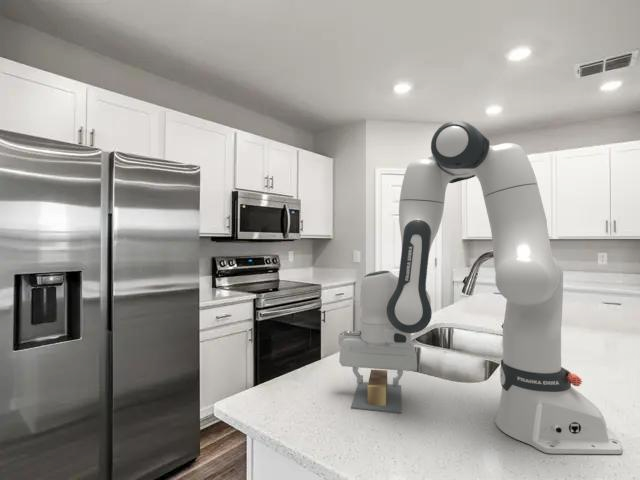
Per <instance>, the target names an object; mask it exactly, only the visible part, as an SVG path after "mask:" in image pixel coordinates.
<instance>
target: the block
mask: <svg viewBox="0 0 640 480" xmlns="http://www.w3.org/2000/svg"><path fill="white" fill-rule="evenodd" d="M387 384H388V370H387V369H373V368H370V374H369V378H368V386H367V389H368V404H369V405H379V406H386V398H387Z"/></svg>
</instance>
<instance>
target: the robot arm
mask: <svg viewBox="0 0 640 480" xmlns="http://www.w3.org/2000/svg"><path fill="white" fill-rule="evenodd" d="M430 151H431V156H430V157H423V158H419V159H415V160H413V161H411V162H410V163H409V164H408V165H407V167H406V168H405V169H406V170H405V173H404V175H403V180H402V184H401V189H400V196H399V201H398V202H399V203H398V224H399V232H400V239H401V255H400V263H399V270H398V271H399V272H398V276H397V275H395V274H393V273H392V271H389V270H379V271H373V272H370V273H367V274H366V275H365V276H363V277H362V279H361V285H360V295H359V296H360V298H359V299H360V303H359V305H360V309H361V316H360V330H359V331H358V330H354V331H353V330H352V331H351V330H343V332H341V333H339V335H338V345H339V347H340V349H339V361H338V362H339V364H340V365H341V367H348V368H352V372H353V374H354V376H355V378H356V384H357V385H358V384H363V382H364V379H363V378H364V375H363V374H362V375H361V374H360V372H359V369H360V368H364V369H373V370H387V371H388V370H391V371H392V370H393V371H397V372H396V373H397V376H396V377H392V384H393V386H395V387H399V385H400V384H399V383H400V382H399V381H400V380H401V378H402V377H403V375H404V372H415V371H416V370H417V368H418V363H417V362H418V361H417V354H416V349H415V344H414V342H413V341H412V334H417V333H419V332H422V331H423V330H425V329H426V328H428V326H429V324H430V322H431V319H432V314H433V313H432V307H431V305H432V304H431V303H432V301H431V297H430V294H429V292H428V291H427V276H428V268H429V267H428V265H429V257H430V251H431V248H432V245H433V242H434V241H435V238H436V237H437V234H438V231H439V229H440V226H441V223H442V219H443V214H444V208H445V199H446V192H447V187H448V184H455V183H457V182H461V181H465V180H469V179H472V178H475V177H476V178H477V179H478V181H479V183H480V187H481V190H482V195H483V201H484V204H485V209H486V214H487V218H488V221H489V226H490V231H491V242H492V243H491V244H492V254H493V257H492V258H493V264H494V270H495V281H494V282H495V286H496V288H497V290H498V292H499V293H500V295H501V296H502V297H503V298H504V299H506V304H505V305H506V306H505V312H504V318H503V324H502V359H501V360H500V369H499V372H500V373H499V375H500V377H499V378H500V384H501V395H500V399H499V407H498V410H497V413H496V415H495V420H494V422H495V425H496V426H497V428H498V429H499V430H500V431H502V432H503V433H505V434H506V435H508V436H509V437H511V438H513V439H515V440H518V441H521V442H523V443H525V444H527V445H530V446H532V447H534V448H535V449H536V450H539V451H541V452H543V453H546V454H559V455H560V454H561V455H563V454H566V455H567V454H569V455H570V454H571V455H572V454H575V455H622V453H623V445H622V442H621V441H620V439H619V438H618V437H617V436H616V434H615V433H613V431H612V430H610V429H609V427H608V428H607V424H606V420H605V417H604V414H603V413H602V412H601V410H600V408H599V407H598V406H596V405H595V404H594V403H593V402H592V401H591V400H590V399H588V398H587V397H586V396H584V395H583V394H582V393H580V392H579V391H578V390H577V389H576V388H574V387H580V386H581V385H583V384H582V382H583V381H582V378H580V377H579V376H578V375H577V374H575V373H572V372H570V371H569V370H567V369H566V368H564V367H562V321H563V320H562V318H563V302H564V301H563V297H564V270H563V268H562V267H563V266H562V265H561V263H560V262H559V261H558V260H557V259H556V257H554V256H553V252H552V246H551V241H550V235H549V229H548V221H547V217H546V213H545V208H544V205H543V199H542V196H541V193H540V189H539V185H538V181H537V178H536V174H535V172H534V169H533V166H532V163H531V162H530V159H529V157H528V155H527V153H526V151H525V150H524V148H523V147H522V146H521V145H519V144H517V143H512V142H503V143H499V144H496V145H490V140H489V139H488V138H487V137H486V136H485V135H484V134H482V132H481V131H479V130H478V129H477V128H476V127H475V126H474V125H472V124H470V123H468V122H467V121H466V122H465V121H463V120H452V121H449V122H446V123H444V124H442V125H441V126H440V127H439V128H438V129H437V130H436V131H435V132H434V134H433V136H432V138H431V143H430ZM573 386H574V387H573Z"/></svg>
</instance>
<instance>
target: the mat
mask: <svg viewBox="0 0 640 480" xmlns="http://www.w3.org/2000/svg"><path fill="white" fill-rule="evenodd" d="M368 382H369V381H368ZM368 382H367V381H363V384H357V386H356V389H355V393H354V396H353V399H352V403H351V405H350V408H351V409H353V410H363V411H364V410H365V411H371V412H374V411H375V412H384V413H395V414H401V413H402V385H401V384H399V387H395V386H393V383H387V398H386V406H379V405H369V404H368V389H367V386H368Z"/></svg>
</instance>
